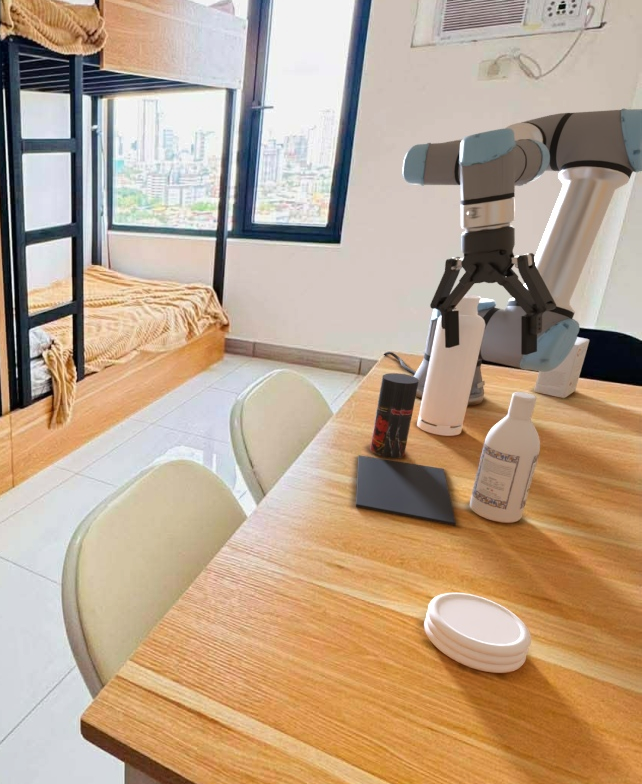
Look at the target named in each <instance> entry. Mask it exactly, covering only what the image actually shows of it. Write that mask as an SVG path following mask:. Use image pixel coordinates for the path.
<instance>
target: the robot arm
mask: <svg viewBox="0 0 642 784" xmlns="http://www.w3.org/2000/svg"><path fill="white" fill-rule="evenodd" d="M545 172H558V175H557V177H558V179H559V181H560V182H561V183H562V187H561V189H560V193H559V195H558V198H557V200H556V203H555V205H554V208H553V210H552V213H551V215H550V218H549V220H548V223H547V225H546V228H545V231H544V233H543V235H542V238H541V241H540V243H539V246H538V248H537V251H536V253H535V254H534V253H533V252H529V253H524V254H520V255H516V256H515V254H514V247H515V244H516V241H515V240H516V229H515V226H514V225H511V224H512V223H514V222H515V221H516V201H515V199H516V198H515V194H516V193H515V190H516V189H515V187H516V186H517V187H521V186H524V185H527V184H529V183H531V182H534V181H536V180H537V179H539V178H540V177H541V176H542V175H543V174H544V173H545ZM639 172H642V108H634V109H633V108H631V109H629V108H621V109H610V110H609V109H608V110H595V111H594V110H593V111H580V112H579V111H578V112H563V113H562V112H561V113H555V114H554V113H553V114H550V115H549V114H548V115H545V116H540V117H536V118H532V119H529V120H525V121H521V122H516V123H512V124H510V125H508V126H506V127H505V128H497V129H493V130H488V131H483V132H477V133H474V134H470V135H467V136H465V137H464V138H460V139H456V140H450V141H446V142H436V143H434V142H433V143H431V142H427V143H419V144H415V145H413V146H411V147H410V148H409V149H408V151H407V152H406V154H405V155H404V159H403V162H402V176H403V179H404V181H405V183H407V184H409V185H416V186H417V185H419V186H460V227H461V229H463V230H465V231H462V233H461V235H460V244H461V246H460V249H461V252H462V254H463V257H461V256H455V257H451V258H447V259H446V260H445V264H444V272H443V274H442V277H441V279H440V281H439V284H438V286H437V288H436V290H435V292H434V295H433V296H432V300H431V302H430V305H429V307H430V308H431V309H432V313H431V316H430V319H429V326H428V331H427V337H426V342H425V348H424V352H423V358H422V361H421V363H420V364H419V367H418V368H417V370H416V371H415V370H414V369H412V368H410V367H408V366H407V365H406V364H405V362H404V360H403V359H402V358H401V357H399V356H398V355H397V354H396V353H394V352H392V351H386V352H384V353H383V354H382V355H383V356H388V355H390V356H392V357H394V358H395V359H396V360H397V361H398V362H399V363H400V366H401V367H402V368H403V369H404V370H405V371H407V372H409V373H411V374H412V376H413V377H415V378H417V379H418V380H419V382H418V387H417V392H416V397H415V398H419V399H420V400H422V397H423V392H424V387H425V382H426V377H427V372H428V367H429V362H430V357H431V352H432V347H433V342H434V337H435V332H436V327H437V322H438V319H439V317H440V316H441V326H442V329H445V348H451V347H454V346H457V345H459V311H452V310H454V309H456V308H455V307H456V306H457V304H458V303H459V302H460V301H461V299H462V298H463V297H464V296H465V294H468V292H469V291H470V289H472V288H473V286H474V285H475V284H482V283H486V284H495V283H497V284H498V285H499V286H502V288H504V289H505V290H506V291H507V293H508V294H509V295H510V296H511V297H512V298H509V299H508V302H507V304H506V307H505V308H499V307H496V305H497V303H496V300H495V299H490V298H487V297H486V298H485V297H481V300H480V302H479V304H478V306H477V311H478V314H477V315H479V316H481V317H482V318H483V319H484V321H485V329H484V334H483V338H482V342H481V347H480V351H479V356H478V360H477V364H476V369H475V373H474V378H473V382H472V386H471V391H470V395H469V400H468V404H467V407H468V406H475V405H478V404H479V405H480V404H481V403H482V402H483V400H484V396H485V388H484V386H485V385H486V383H485V380H483V375H482V368H481V367H482V363H483V361H487V362H491V363H496V364H501V365H505V366H510V367H514V368H519V369H521V370H523V371H528V370H529V371H534V372H539V371H540V372H547V371H551V370H553V369H555V368H556V367H557V366H559V365H560V364H561V363H562V362H563V361H564V360H565V358H566V357H567V356H568V354H569V353H570V351H571V350H572V348H573V346H574V344H575V342H576V340H577V337H578V334H580V333H579V332H580V323H579V322H578V320H576V319H575V318H574V316H575V313H576V312H575V310H574V309H573V307H572V306H571V304H570V303H571V299H572V297H573V295H574V292H575V289H576V286H577V285H578V282H579V279H580V277H581V274H582V272H583V270H584V268H585V265H586V262H587V260H588V257H589V255H590V253H591V250H592V248H593V245H594V242H595V240H596V238H597V236H598V233H599V230H600V229H601V225H602V223H603V220H604V218H605V216H606V213H607V211H608V209H609V205H610V203H611V201H612V199H613V197H614V194H615V191H616V190H618V189H620V188H621V187H623V186H625V185H627V184H628V183H629V181H630V179H631V176H632V175H633V173H639ZM513 267H515V268H516V269H517V270H518V273H519V275H520V277H521V279H522V281H523V283H524V284H523V283H522V282H521V281H520V279H519V275H518V274H517V272H515V271H514V269H513ZM462 269H463V271H464V274H463V275H462V276H461V277H460V278H459V282H458V283H457V285H456V286H455V284H456V282H457V279H458V277H459V276H460V275H459V274H460V272H461V270H462ZM454 286H455V287H454ZM453 288H454V289H453Z"/></svg>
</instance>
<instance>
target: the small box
mask: <svg viewBox="0 0 642 784" xmlns="http://www.w3.org/2000/svg"><path fill="white" fill-rule="evenodd" d="M589 343H590V339H588V338H584V337H579V336H577V340H576V342H575V344H574V346H573V348H572V350H571V351H570V353H569V354H568V356H567V357H566V358H565V360H564V361H563V362H562V363H561V364H560V365H559V366H557V367H556V368H555V369H553V370H551V371H547V372H540V371H538V374H537V378H536V381H535V386H534V389H533V392H534V393H539V394H543V395H547V396H550V397H551V396H552V397H556V398H561V399H565V398H567V397H568V396H570V395H571V394H573V393H574V392H576V390H577V387H578V384H579V379H580V375H581V372H582V368H583V365H584V362H585V358H586V354H587V350H588V347H589Z"/></svg>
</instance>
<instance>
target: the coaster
mask: <svg viewBox="0 0 642 784" xmlns="http://www.w3.org/2000/svg"><path fill="white" fill-rule="evenodd" d="M423 627H424V632H425V635H426V636H427V638H428V639H429V641H430V642H431V644H433V646H434V647H436V648H437V649H438V650H439V651H440V652H441V653H443V654H444V655H445V656H447V657H449V658H450V659H451V660H453V661H455V662H457V663H459V664H461V665H462V666H465V667H468V668H471V669H473V670H477V671H482V672H487V673H493V674H506V673H512V672H515V671H517V670H519V669H520V668H521V667H522V666H523V665H524V664H525V663H526V661H527V655H528V653H529V649H530V646H531V643H532V635H531V632H530V630H529V628H528V626H527V625H526V623H524V621H523V620H522V619H521V618H519V616H517V615H516V614H515V613H514V612H513V611H511V610H510V609H508V608H506V607H505V606H503V605H501V604H499V603H497V602H494V601H493V600H491V599H488V598H485V597H482V596H479V595H475V594H470V593H465V592H447V593H441V594H439V595H437V596H434V597H433V598H432V599H431V600H430V602H428V606H427V611H426V614H425V618H424V622H423Z"/></svg>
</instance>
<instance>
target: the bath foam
mask: <svg viewBox="0 0 642 784" xmlns="http://www.w3.org/2000/svg"><path fill="white" fill-rule="evenodd" d="M536 401H537V396H536V395H534V394H532V393H530V392H525V391H516V392H513V393H512V395H511V399H510V404H509V406H508V411H507V414H506V416H504V417H503V418H502V419H501V420H499V421H498V422H497V423H496V424H494V425H493V426H492V427H491V428H490V430H489V431H488V432H487V434H486V436H485V439H484V441H483V446H482V450H481V454H480V459H479V463H478V467H477V471H476V475H475V478H474V483H473V487H472V492H471V495H470V501H469V508H470V510H471V511H473V512H474V513H475V514H476V515H478V516H480V517H481V518H484V519H487V520H490V521H492V522H496V523H505V524H511V523H516V522H518V521H520V520H521V519H522V516H523V513H524V510H525V506H526V503H527V500H528V496H529V493H530V488H531V486H532V481H533V477H534V474H535V471H536V468H537V463H538V460H539V456H540V450H541V439H540V436H539V433H538V430H537V429H536V426H535V424H534V423H533V421H532V417H533V414H534V410H535V406H536Z"/></svg>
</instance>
